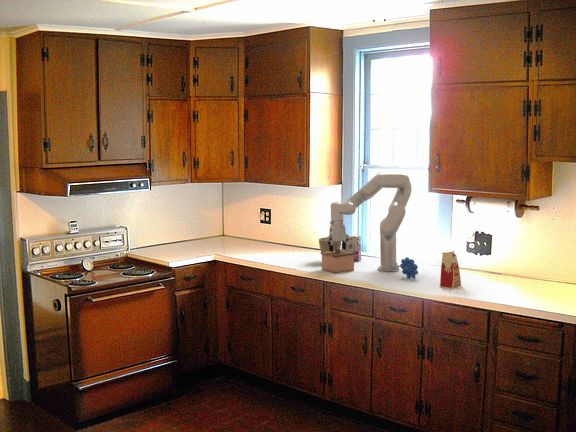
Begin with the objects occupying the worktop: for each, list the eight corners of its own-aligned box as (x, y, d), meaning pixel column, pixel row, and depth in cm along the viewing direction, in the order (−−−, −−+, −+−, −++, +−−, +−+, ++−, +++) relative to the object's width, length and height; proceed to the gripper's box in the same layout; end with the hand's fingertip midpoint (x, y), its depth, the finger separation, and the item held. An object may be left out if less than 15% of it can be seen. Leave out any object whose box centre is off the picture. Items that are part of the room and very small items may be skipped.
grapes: (396, 278, 375) (396, 257, 374) (402, 275, 380) (402, 255, 379) (414, 280, 368) (414, 259, 366) (420, 278, 373) (420, 257, 371)
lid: (355, 256, 397) (354, 244, 396) (335, 259, 389) (334, 247, 388) (340, 252, 410) (339, 241, 409) (320, 255, 402) (320, 244, 401)
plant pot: (320, 260, 431) (320, 236, 429) (343, 260, 428) (342, 237, 426) (317, 265, 416) (317, 240, 414) (340, 265, 413) (340, 240, 411)
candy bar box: (361, 260, 428) (361, 235, 426) (358, 261, 424) (358, 236, 422) (345, 259, 434) (345, 234, 431) (342, 260, 429) (342, 236, 427)
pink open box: (354, 270, 398) (353, 254, 397) (335, 273, 391) (335, 257, 390) (340, 266, 410) (339, 251, 409) (322, 269, 403) (321, 253, 401)
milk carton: (461, 286, 352) (461, 249, 349) (453, 289, 345) (453, 252, 342) (446, 284, 358) (446, 248, 355) (437, 287, 351) (437, 250, 348)
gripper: (329, 224, 389) (329, 253, 391) (352, 222, 398) (352, 249, 400) (321, 223, 395) (322, 251, 397) (344, 220, 404) (345, 247, 407)
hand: (337, 250), depth 399 cm, fingers open, 9 cm apart
